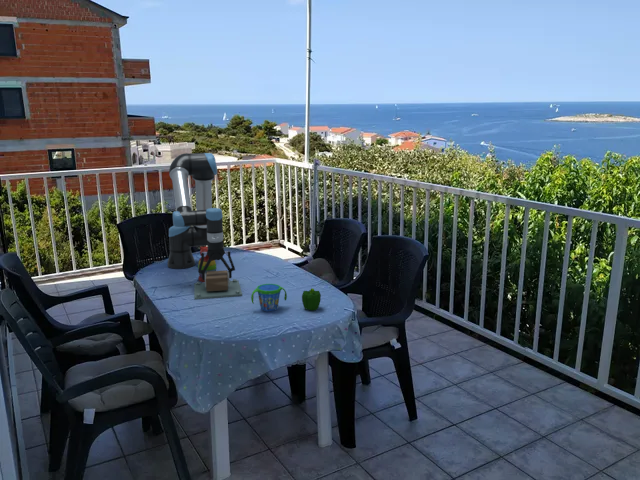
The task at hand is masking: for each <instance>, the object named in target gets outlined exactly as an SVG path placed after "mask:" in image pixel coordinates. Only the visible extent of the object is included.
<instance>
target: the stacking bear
mask: <svg viewBox="0 0 640 480" xmlns="http://www.w3.org/2000/svg"><path fill="white" fill-rule="evenodd" d="M199 247H200V248H199V249H200V251H199V253H200V256H201V252H207V251H208V246H199ZM201 257H202V256H201ZM201 257H200V258H199V260H198V264H197V270H198V269H199V265H200V261H201ZM208 259H209V256H208V255H206V257H204V261H203V265H202V269H201V270H203V268H204V267H205V265H206V263H207V261H208ZM207 271H217V263H216V260H212V261H211V262H210V264H209V266H208V268H207V270H206V271H205V272H206V273H207ZM198 282H200V283H205V280H203V279H202V273H198Z"/></svg>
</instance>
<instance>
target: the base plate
mask: <svg viewBox="0 0 640 480" xmlns="http://www.w3.org/2000/svg"><path fill="white" fill-rule="evenodd" d="M229 281H230V285H228V290H220V291H206V287H205V282H201V281H196V283H193V287H194V290H193V291H194V292H193V293H194V295H193V296H194V297H193V299H194V300H206V299H221V298H234V297H242V296H243V292H242V287H241V284H240V280H238V279H237V278H233V279H232V280H229Z"/></svg>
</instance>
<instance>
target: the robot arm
mask: <svg viewBox="0 0 640 480" xmlns="http://www.w3.org/2000/svg"><path fill="white" fill-rule="evenodd" d="M168 170H169V171H168V172H169V173H168V174H169V177H170V179H171V181H172V189H173V197H174V198H173V199H174V204H175V211H173V212H172V224H173V225H172V226H170V227H169V228H168V237H169V238H168V241H169V256H168V260H167V267H168V268H170V269H175V270H179V269H180V270H181V269H188V268H192V267H194V266H195V265H196V260H195V258H194V255H193V253H192V248H193V247H205V246H208V251H207V252H201V255H200V256H202V257H200V258H201V261H200V265H199V269H198V268H197V272H198V274H199V273H202V279H203V280H205V282H204V283H205V287H206V272H205V271H206V270H207V268H208V266H209V264H210V262H211V261H212V260H215V261H221V262H222V263H223V265H224V266H225V268H226V269H227V277H228V285H230V281H231V280H230V279H232V278H233V277H232V272H233V271H236V268H235V267H236V266H235V265H234V262H233V260H232V256H231V250H225V249H224V241H223V240H224V230H223V227H224V225H223V222H224V221H223V217H224V216H223V210H222V209H221V208H219V207H213V200H212V199H213V198H212V197H213V196H212V195H213V194H212V193H213V190H212V187H213V186H212V182H213V180H214V179H215V176H216V175H218V167H217V162H216V159H215V155H214V154H213V153H212V152H211V153H210V152H207V153H206V152H195V153H194V152H192V153H188V152H185V153H181V154H179V155H178V156H175V158H174V159H173V160H172V161H171V163H170V165H169V169H168ZM189 176H192V180H194V182H195V210H193V208H192V202H191V201H192V200H191V195H190V194H191V193H190V188H189V182H188V178H189ZM206 255H208V256H209V259H208V261H207V263H206V265H205V267H204V268H203V270H201V269H202V265H203V261H204V257H206ZM224 255H226V256H227V258H228V261H229V263H230V265H231V267H230V266H229V264H228V263H227V261H226V260H225V258H224Z"/></svg>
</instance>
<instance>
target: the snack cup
mask: <svg viewBox="0 0 640 480" xmlns="http://www.w3.org/2000/svg"><path fill="white" fill-rule="evenodd" d="M282 290H283V292H284V298H283V300H284V301H287V299H288V295H287V291H286V289H285V288H284V287H282V286H281V285H279V284H276V283H262V284H260V285H259V284H258V286H256V288H255V289H254V290H253V291H252V292H251V296H250V300H251V302H252V304H253V305H254V304H255V303H254V295H255V293H257V294H258V299H259V300H258V301H259V306H260V310H261V311H263V312H266V313H267V312H274V311H276V310H278V308H279V302H280V294H281V292H282Z"/></svg>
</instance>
